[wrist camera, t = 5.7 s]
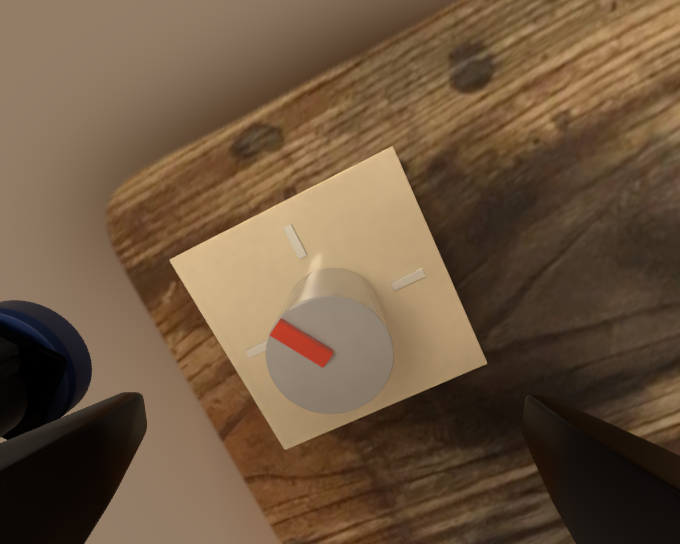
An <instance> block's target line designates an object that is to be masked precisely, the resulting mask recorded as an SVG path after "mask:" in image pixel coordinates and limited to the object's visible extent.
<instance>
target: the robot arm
mask: <svg viewBox="0 0 680 544" xmlns="http://www.w3.org/2000/svg"><path fill="white" fill-rule="evenodd" d="M54 361H55V362H56V363H57V364H58V365H56V364H55V362H54ZM67 364H68V362H67V359H66V358H65V357H64V356H63V355H61V354H59V353H57V352H55V351H53V350H51V349H49V348H47V347H45V346H43V345H41V344H39V343H37V342H35V341H33V340H31V339H28V338H26V337H24V336H22V335H20V334H18V333H16V332H14V331H12V330H10V329H8V328H6V327H4V326H2V325H0V437H2V438H4V439H6V440H7V441H5V442H2V443H0V544H84V543H85V541H86V540H87V538H88V537H89V535H90V534H91V532H92V530H93V529H94V527H95V526H96V524H97V522H98V521H99V519H100V518H101V516H102V514H103V513H104V511H105V510H106V508H107V506H108V505H109V503H110V501H111V499H112V498H113V496H114V494H115V492H116V490H117V489H118V487H119V485H120V483H121V481H122V479H123V477H124V475H125V473H126V471H127V469H128V467H129V465H130V463H131V461H132V459H133V457H134V455H135V453H136V451H137V449H138V447H139V445H140V443H141V441H142V439H143V437H144V435H145V432H146V429H147V419H146V413H145V405H144V399H143V396H142V395H141V394H140V393H136V392H133V393H132V392H131V393H130V392H124V393H120V394H118V395H116V396H113V397H111V398H108V399H106V400H104V401H101V402H98V403H96V404H94V405H92V406H89V407H86V408H84V409H82V410H79V411H77V412H74V413H72V414H70V415H67V416H65V417H62V418H60V419H58V420H55V421H53V422H50V423H48V424H45V425H43V426H41V425H42V422H43V420H44V418H45V415H46V413H47V411H48V409H49V406H50V404H51V402H52V399H53V397H54V395H55V393H56V390H57V388H58V386H59V383H60V381H61V379H62V377H63V374H64V372H65V370H66V367H67ZM522 434H523V437H524V440H525V442H526V444H527V446H528V449H529V451H530V453H531V455H532V458H533V460H534V462H535V464H536V466H537V469H538V471H539V473H540V475H541V478H542V480H543V482H544V484H545V486H546V489H547V491H548V493H549V495H550V497H551V499H552V501H553V503H554V505H555V507H556V509H557V511H558V512H559V514H560V516H561V518H562V520H563V521H564V523H565V525H566V527H567V528H568V530H569V532H570V534H571V535H572V537H573V539H574V541H575V542H576V544H680V455H677V454H675V453H673V452H671V451H669V450H666V449H664V448H662V447H660V446H658V445H655V444H653V443H651V442H649V441H647V440H644V439H642V438H640V437H638V436H636V435H633V434H631V433H629V432H627V431H625V430H622V429H620V428H618V427H616V426H614V425H611V424H609V423H607V422H605V421H603V420H600V419H598V418H596V417H594V416H592V415H589V414H587V413H585V412H583V411H581V410H578V409H576V408H574V407H572V406H570V405H567V404H565V403H563V402H561V401H558V400H556V399H554V398H552V397H550V396H547V395H528V396H527V397H526V399H525V402H524V410H523V418H522Z"/></svg>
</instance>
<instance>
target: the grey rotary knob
mask: <svg viewBox="0 0 680 544" xmlns="http://www.w3.org/2000/svg"><path fill="white" fill-rule="evenodd" d="M266 363H267V368H268V371H269V374H270V376H271V378H272V380H273V382H274V384H275V385H276V387H277V388H278V390H279V391H280V392H281V393H282V394H283V395H284V396H285V397H286V398H287V399H288V400H290V401H291V402H293V403H294V404H296V405H298V406H299V407H301V408H304V409H306V410H309V411H312V412H317V413H323V414H338V413H344V412H349V411H352V410H355V409H357V408H359V407H361V406H363V405H365V404H367V403H368V402H370V401H371V400H372V399H373V398H375V397H376V396H377V395H378V394H379V392H380V391H381V390H382V389H383V387H384V386H385V384H386V383H387V381H388V379H389V377H390V374H391V371H392V368H393V363H394V347H393V342H392V338H391V335H390V332H389V329H388V326H387V323H386V320H385V317H384V314H383V311H382V308H381V305H380V301H379V299H378V296H377V294H376V292H375V290H374V289H373V287H372V286H371V285H370V284H369V283H368V282H367V281H366V280H365V279H364V278H363V277H361V276H360V275H358V274H356V273H354V272H352V271H349V270H346V269H342V268H324V269H320V270H316V271H314V272H311V273H309V274H308V275H306V276H305V277H303V278H302V279H301V280H300V281H299V282H298V283H297V284H296V285H295V286H294V287H293V289H292V290H291V292H290V294H289V296H288V298H287V300H286V302H285V304H284V306H283V308H282V310H281V312H280V314H279V316H278V317H277V319H276V321H275V323H274V325H273V327H272V329H271V332H270V334H269V337H268V340H267V345H266Z"/></svg>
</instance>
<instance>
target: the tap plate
mask: <svg viewBox="0 0 680 544" xmlns="http://www.w3.org/2000/svg"><path fill="white" fill-rule="evenodd" d="M170 262H171V264H172V266H173V267H174V269H175V271H176V272H177V274H178V275H179V277H180V279H181V280H182V282H183V284H184V285H185V287H186V289H187V290H188V292H189V294H190V295H191V297H192V299H193V300H194V302H195V303H196V305H197V307H198V308H199V310H200V312H201V313H202V315H203V317H204V318H205V320H206V322H207V323H208V325H209V327H210V328H211V330H212V331H213V333H214V335H215V336H216V338H217V340H218V341H219V343H220V345H221V346H222V348H223V350H224V351H225V353H226V354H227V356H228V358H229V359H230V361H231V363H232V364H233V366H234V368H235V369H236V371H237V373H238V374H239V376H240V378H241V379H242V381H243V382H244V384H245V386H246V387H247V389H248V391H249V392H250V394H251V396H252V397H253V399H254V401H255V402H256V404H257V406H258V407H259V409H260V410H261V412H262V414H263V415H264V417H265V419H266V420H267V422H268V424H269V425H270V427H271V429H272V430H273V432H274V434H275V435H276V437H277V438H278V440H279V442H280V443H281V445H282V447H283V448H284V450H286V449H289V448H291V447H293V446H296V445H298V444H300V443H303V442H305V441H307V440H310V439H312V438H314V437H317V436H319V435H321V434H324V433H326V432H328V431H331V430H333V429H335V428H338V427H340V426H343V425H345V424H347V423H350V422H352V421H354V420H357V419H359V418H361V417H364V416H366V415H368V414H371V413H373V412H375V411H378V410H380V409H382V408H385V407H387V406H389V405H392V404H394V403H396V402H399V401H401V400H403V399H406V398H408V397H411V396H413V395H415V394H418V393H420V392H422V391H425V390H427V389H429V388H432V387H434V386H436V385H439V384H441V383H443V382H446V381H448V380H450V379H453V378H455V377H457V376H460V375H462V374H464V373H467V372H469V371H471V370H474V369H476V368H479V367H481V366H483V365H486V364H487V361H486V359H485V356H484V354H483V352H482V349H481V347H480V345H479V343H478V340H477V338H476V336H475V333H474V331H473V329H472V327H471V324H470V322H469V320H468V317H467V315H466V313H465V310H464V308H463V306H462V304H461V301H460V299H459V297H458V294H457V292H456V290H455V288H454V285H453V283H452V281H451V278H450V276H449V274H448V271H447V269H446V267H445V265H444V262H443V260H442V258H441V255H440V253H439V251H438V249H437V246H436V244H435V242H434V239H433V237H432V235H431V232H430V230H429V228H428V226H427V223H426V221H425V219H424V216H423V214H422V212H421V209H420V207H419V205H418V203H417V200H416V198H415V196H414V193H413V191H412V189H411V187H410V184H409V182H408V180H407V177H406V175H405V173H404V170H403V168H402V166H401V164H400V161H399V159H398V157H397V154H396V152H395V150H394V148H393V146H391V147H389V148H387V149H385V150H383V151H381V152H379V153H377V154H375V155H373V156H372V157H370V158H368V159H366V160H364V161H362V162H360V163H358V164H356V165H354V166H352V167H350V168H348V169H346V170H344V171H342V172H340V173H338V174H336V175H334V176H332V177H330V178H328V179H326V180H324V181H323V182H321V183H319V184H317V185H315V186H313V187H311V188H309V189H307V190H305V191H303V192H301V193H299V194H297V195H295V196H293V197H291V198H289V199H287V200H285V201H283V202H281V203H279V204H277V205H275V206H273V207H272V208H270V209H268V210H266V211H264V212H262V213H260V214H258V215H256V216H254V217H252V218H250V219H248V220H246V221H244V222H242V223H240V224H238V225H236V226H234V227H232V228H230V229H228V230H226V231H224V232H222V233H221V234H219V235H217V236H215V237H213V238H211V239H209V240H207V241H205V242H203V243H201V244H199V245H197V246H195V247H193V248H191V249H189V250H187V251H185V252H183V253H181V254H179V255H177V256H175V257H173V258H171V259H170ZM324 268H342V269H346V270H349V271H352V272H354V273H356V274H358V275H360V276H361V277H363V278H364V279H365V280H366V281H367V282H368V283H369V284H370V285H371V286H372V287H373V289H374V290H375V292H376V294H377V296H378V299H379V301H380V305H381V308H382V311H383V314H384V317H385V320H386V323H387V326H388V329H389V332H390V335H391V338H392V342H393V347H394V363H393V368H392V371H391V374H390V377H389V379H388V381H387V383H386V384H385V386H384V387H383V389H382V390H381V391H380V392H379V394H378V395H377V396H376V397H375V398H373V399H372V400H371V401H370V402H368V403H367V404H365V405H363V406H361V407H359V408H357V409H355V410H352V411H349V412H344V413H338V414H323V413H317V412H312V411H309V410H306V409H304V408H301V407H299V406H298V405H296V404H294V403H293V402H291V401H290V400H288V399H287V398H286V397H285V396H284V395H283V394H282V393H281V392H280V391H279V390H278V388H277V387H276V385H275V384H274V382H273V380H272V378H271V376H270V374H269V371H268V368H267V363H266V345H267V340H268V337H269V334H270V332H271V329H272V327H273V325H274V323H275V321H276V319H277V317H278V316H279V314H280V312H281V310H282V308H283V306H284V304H285V302H286V300H287V298H288V296H289V294H290V292H291V290H292V289H293V287H294V286H295V285H296V284H297V283H298V282H299V281H300V280H301V279H302V278H303V277H305V276H306V275H308V274H309V273H311V272H314V271H316V270H320V269H324Z"/></svg>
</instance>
